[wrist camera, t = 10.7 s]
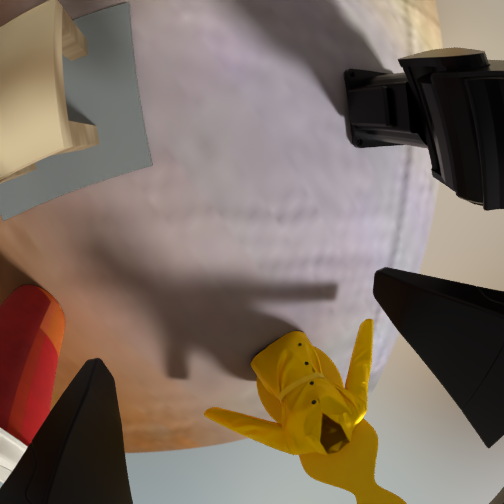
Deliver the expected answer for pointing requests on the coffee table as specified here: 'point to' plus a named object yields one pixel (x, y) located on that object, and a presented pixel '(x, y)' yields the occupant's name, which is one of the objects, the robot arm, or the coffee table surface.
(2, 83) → the stool
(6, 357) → the paper cup
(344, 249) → the coffee table surface
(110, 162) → the felt pad
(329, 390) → the figure statuette
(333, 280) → the coffee table surface
